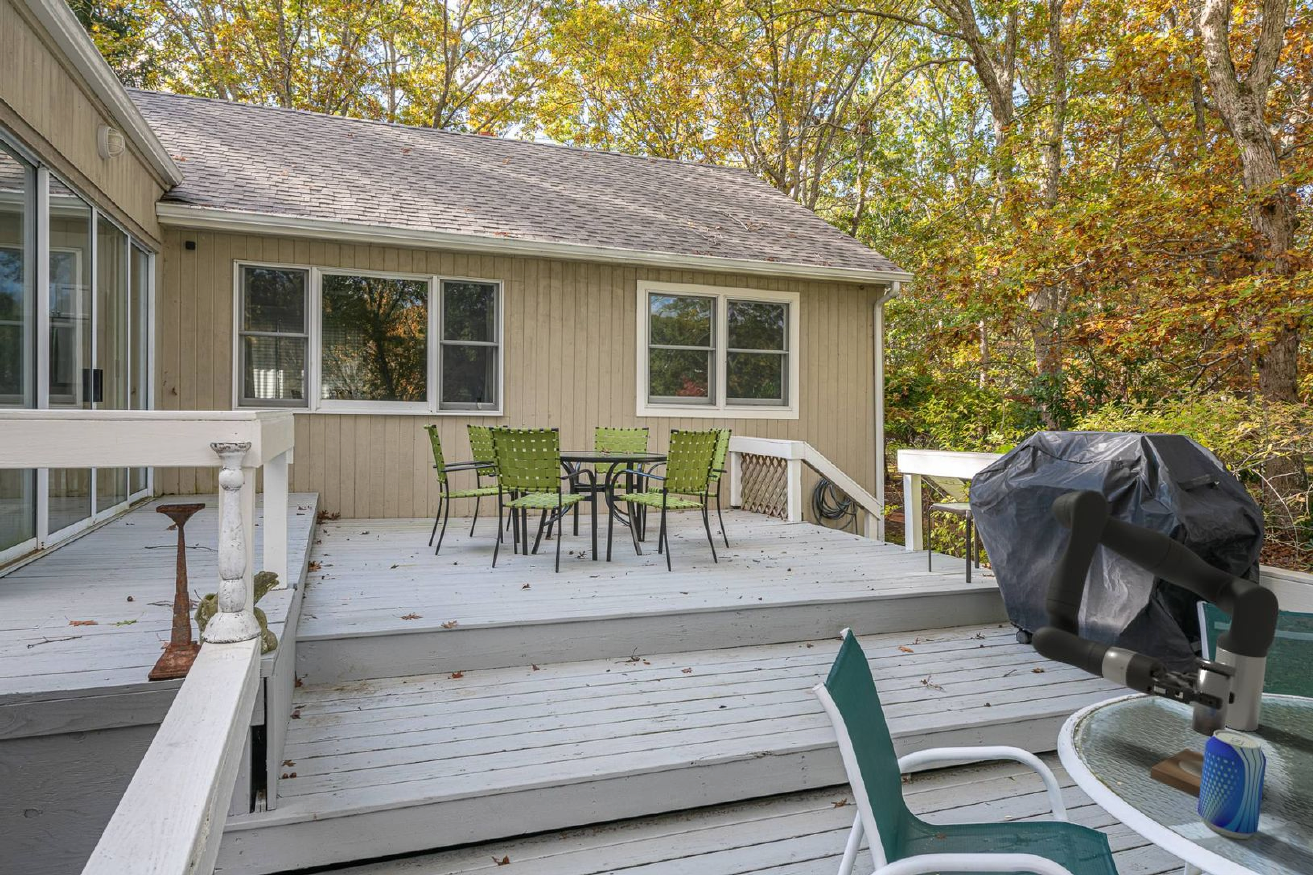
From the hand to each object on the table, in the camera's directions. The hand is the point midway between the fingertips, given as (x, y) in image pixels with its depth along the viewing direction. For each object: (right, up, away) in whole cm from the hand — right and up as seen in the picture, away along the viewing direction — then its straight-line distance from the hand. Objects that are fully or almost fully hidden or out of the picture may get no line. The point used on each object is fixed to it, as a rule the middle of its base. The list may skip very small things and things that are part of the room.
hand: (1227, 701), depth 146 cm
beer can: (-10, -18, -12) cm, 24 cm away
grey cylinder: (-2, -7, +3) cm, 7 cm away
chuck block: (-2, -17, +3) cm, 17 cm away
